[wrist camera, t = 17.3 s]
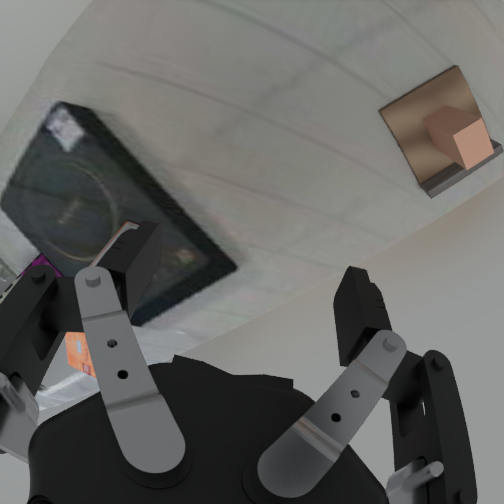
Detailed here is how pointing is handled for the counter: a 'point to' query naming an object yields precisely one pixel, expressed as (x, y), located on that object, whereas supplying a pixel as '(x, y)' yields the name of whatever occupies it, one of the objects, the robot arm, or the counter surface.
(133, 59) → the counter surface
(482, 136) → the carton
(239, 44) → the counter surface
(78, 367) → the cracker box
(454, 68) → the shelf board
